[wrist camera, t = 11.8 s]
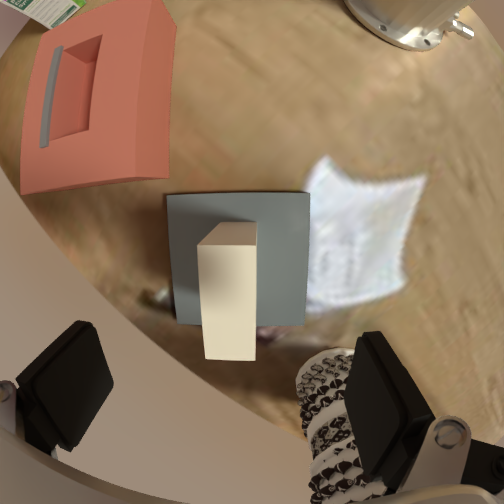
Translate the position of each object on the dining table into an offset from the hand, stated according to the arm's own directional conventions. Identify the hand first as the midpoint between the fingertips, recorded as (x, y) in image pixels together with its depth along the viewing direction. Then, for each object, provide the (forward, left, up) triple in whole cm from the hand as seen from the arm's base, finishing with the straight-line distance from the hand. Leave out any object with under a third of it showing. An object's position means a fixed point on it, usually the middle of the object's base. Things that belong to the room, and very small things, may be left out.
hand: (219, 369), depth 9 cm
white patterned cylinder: (-10, +14, -16) cm, 24 cm away
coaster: (0, +1, -16) cm, 16 cm away
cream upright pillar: (0, +1, -15) cm, 15 cm away
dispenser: (+12, -15, -16) cm, 25 cm away
